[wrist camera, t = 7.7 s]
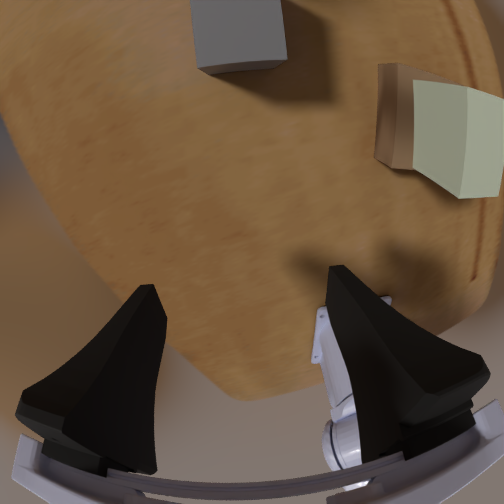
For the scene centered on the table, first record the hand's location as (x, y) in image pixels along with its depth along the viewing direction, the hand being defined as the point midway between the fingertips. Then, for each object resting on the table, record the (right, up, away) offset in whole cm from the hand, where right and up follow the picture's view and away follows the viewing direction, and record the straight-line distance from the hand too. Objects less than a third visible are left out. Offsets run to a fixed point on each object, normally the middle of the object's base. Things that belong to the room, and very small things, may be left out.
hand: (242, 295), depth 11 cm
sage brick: (+13, +10, +2) cm, 16 cm away
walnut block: (+12, +12, +5) cm, 18 cm away
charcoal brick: (-1, +15, +1) cm, 15 cm away
